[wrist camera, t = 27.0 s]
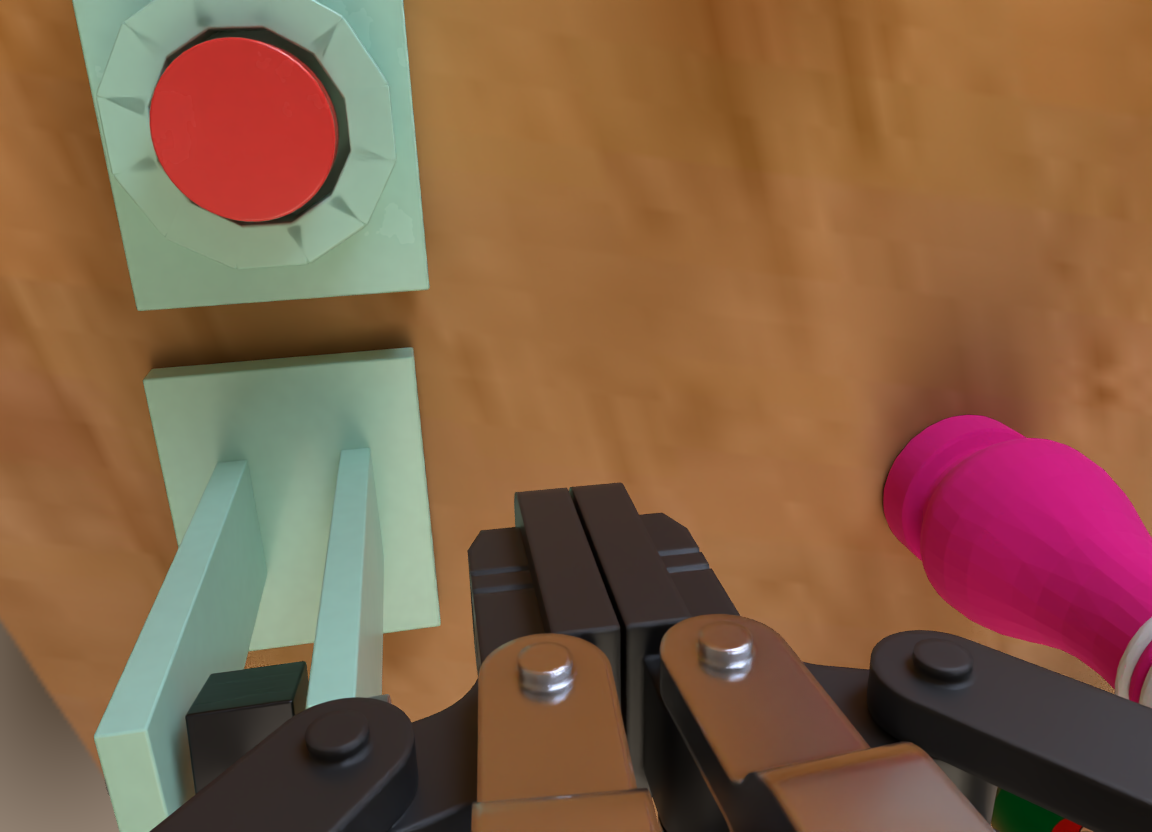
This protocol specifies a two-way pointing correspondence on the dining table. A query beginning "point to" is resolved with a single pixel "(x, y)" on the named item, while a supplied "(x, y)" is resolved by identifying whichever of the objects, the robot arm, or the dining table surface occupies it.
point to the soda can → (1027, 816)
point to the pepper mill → (1029, 543)
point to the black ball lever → (240, 714)
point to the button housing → (311, 233)
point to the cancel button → (243, 128)
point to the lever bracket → (272, 547)
